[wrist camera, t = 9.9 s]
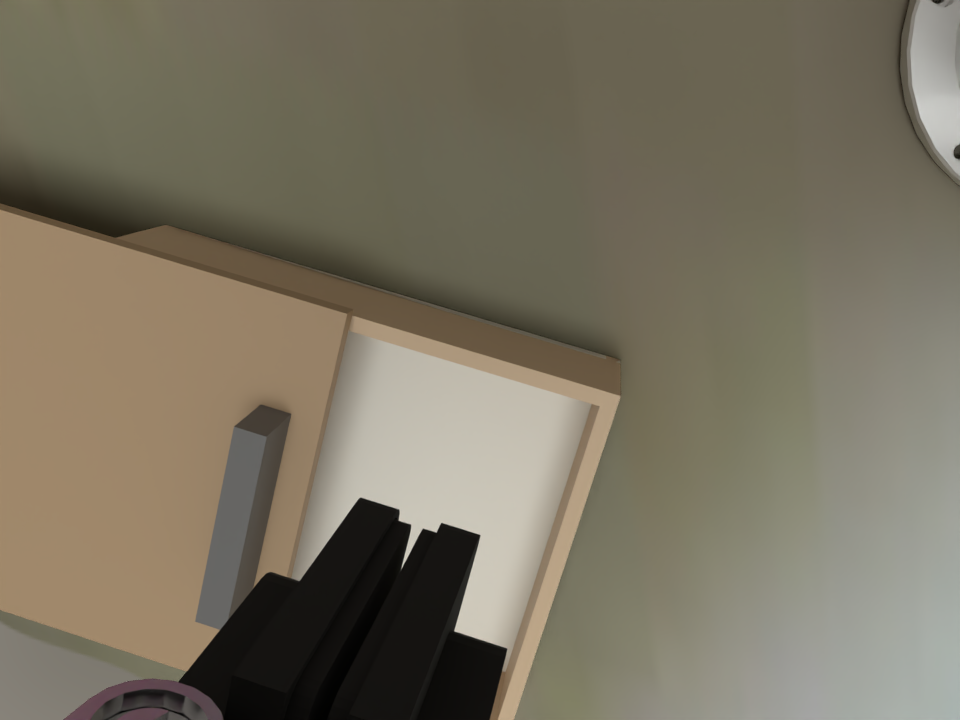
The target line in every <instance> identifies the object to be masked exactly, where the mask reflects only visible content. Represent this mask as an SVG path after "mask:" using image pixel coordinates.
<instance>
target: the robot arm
mask: <svg viewBox="0 0 960 720" xmlns="http://www.w3.org/2000/svg"><path fill="white" fill-rule="evenodd" d="M900 73H901V80H902V86H903V93H904V99H905V105H906V107H907V110H908V113H909V115H910V118H911V121H912V123H913V126H914V129H915V131H916V134H917V136H918V137H919V139H920V140H921V142H922V143H923V145H924V146H925V148H926V150H927V151H928V153H929V154H930V156H931V157H932V159H933V160H934V162H935V163H936V164H937V165H938V166H939V167H940V168H941V169H942V170H943V171H944V172H945V173H946V174H947V175H948V176H949V177H950V178H951V179H952V180H953V181H954V182H955V183H956V184H958V185H959V186H960V158H958V159H956V158H955V157H954V155H953V152H954V148H955V147H956V146H957V145H959V144H960V0H941V2H940V3H938V4H935V3H934V2H932V0H910V1H909V6H908V10H907V14H906V18H905V23H904V27H903V31H902V37H901V59H900ZM399 515H400V510H399V509H396V508H393V507H390V506H386V505H383V504H380V503H377V502H374V501H371V500H367V499H364V498H359V499H358V500H357V502H356V503H355V504H354V506H353V507H352V509H351V510H350V511H349V513H348V514H347V516H346V517H345V518H344V520H343V521H342V523H341V524H340V525H339V527H338V528H337V530H336V531H335V532H334V534H333V535H332V536H331V538H330V539H329V541H328V542H327V543H326V545H325V546H324V548H323V549H322V550H321V552H320V553H319V555H318V556H317V557H316V559H315V560H314V562H313V563H312V564H311V566H310V567H309V569H308V570H307V571H306V573H305V574H304V576H303V577H302V578H301V580H300V581H298V580H295V579H292V578H289V577H285V576H282V575H279V574H276V573H273V572H268V573H266V574H265V575H264V576H263V577H262V578H261V579H260V581H259V582H258V583H257V584H256V586H255V587H254V588H253V589H252V591H251V592H250V593H249V594H248V596H247V597H246V598H245V599H244V601H243V602H242V603H241V604H240V606H239V607H238V608H237V609H236V611H235V612H234V613H233V614H232V616H231V617H230V618H229V619H228V621H227V622H226V623H225V624H224V626H223V627H222V628H221V629H220V631H219V632H218V633H217V634H216V636H215V637H214V638H213V639H212V641H211V642H210V643H209V644H208V646H207V647H206V648H205V649H204V651H203V652H202V653H201V654H200V656H199V657H198V658H197V659H196V661H195V662H194V663H193V664H192V666H191V667H190V668H189V669H188V671H187V672H186V673H185V674H184V676H183V677H182V678H181V679H180V681H179V682H176V681H170V680H160V679H143V680H133V681H128V682H124V683H121V684H118V685H115V686H112V687H109V688H106V689H105V690H103V691H101V692H100V693H98V694H97V695H95V696H93V697H92V698H90V699H89V700H87V701H86V702H85V703H84V704H82V705H81V706H80V707H79V708H77V709H76V710H75V711H74V712H72V713H71V714H70V715H69V716H67V717H66V718H65V719H64V720H490V717H491V713H492V709H493V705H494V701H495V697H496V693H497V689H498V685H499V681H500V677H501V673H502V669H503V666H504V662H505V658H506V653H507V648H504V647H501V646H498V645H495V644H492V643H489V642H486V641H483V640H480V639H477V638H474V637H470V636H467V635H464V634H461V633H458V632H455V631H454V630H455V627H456V623H457V620H458V616H459V612H460V609H461V605H462V602H463V598H464V595H465V591H466V587H467V584H468V580H469V577H470V573H471V570H472V566H473V562H474V559H475V555H476V552H477V548H478V544H479V540H480V535H479V534H476V533H473V532H470V531H466V530H463V529H460V528H457V527H454V526H450V525H447V524H444V523H441V525H440V526H439V528H438V530H437V533H436V532H433V531H430V530H427V529H422V531H421V533H420V534H419V536H418V538H417V540H416V542H415V544H414V546H413V548H412V550H411V552H410V554H409V556H408V558H407V559H406V561H405V563H404V565H403V567H402V564H403V560H404V556H405V552H406V548H407V544H408V540H409V536H410V532H411V524H408V523H404V522H401V521H399ZM401 568H402V569H401Z"/></svg>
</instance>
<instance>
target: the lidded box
mask: <svg viewBox="0 0 960 720" xmlns="http://www.w3.org/2000/svg"><path fill="white" fill-rule="evenodd" d="M116 238H117V239H121V240H124V241H127V242H131V243H134V244H137V245H141V246H144V247H147V248H151V249H154V250H157V251H161V252H164V253H167V254H171V255H174V256H177V257H181V258H184V259H187V260H191V261H194V262H197V263H201V264H204V265H207V266H211V267H214V268H217V269H221V270H224V271H227V272H231V273H234V274H237V275H241V276H244V277H247V278H251V279H254V280H257V281H261V282H264V283H267V284H271V285H274V286H277V287H281V288H284V289H287V290H291V291H294V292H298V293H301V294H304V295H308V296H311V297H314V298H318V299H321V300H324V301H328V302H331V303H334V304H338V305H341V306H344V307H348V308H351V309H353V313H352V318H351V322H350V326H349V331H348V335H347V339H346V344H345V348H344V352H343V357H342V361H341V365H340V370H339V374H338V378H337V382H336V387H335V391H334V395H333V400H332V404H331V408H330V413H329V417H328V421H327V426H326V430H325V434H324V439H323V443H322V447H321V452H320V456H319V460H318V464H317V469H316V473H315V477H314V482H313V486H312V490H311V495H310V499H309V503H308V508H307V512H306V516H305V521H304V525H303V529H302V534H301V538H300V542H299V546H298V551H297V555H296V559H295V564H294V568H293V572H292V577H291V578H292V579H295V580H298V581H300V580H301V578H302V577H303V576H304V574H305V573H306V571H307V570H308V569H309V567H310V566H311V564H312V563H313V562H314V560H315V559H316V557H317V556H318V555H319V553H320V552H321V550H322V549H323V548H324V546H325V545H326V543H327V542H328V541H329V539H330V538H331V536H332V535H333V534H334V532H335V531H336V530H337V528H338V527H339V525H340V524H341V523H342V521H343V520H344V518H345V517H346V516H347V514H348V513H349V511H350V510H351V509H352V507H353V506H354V504H355V503H356V502H357V500H358V499H359V498H364V499H367V500H371V501H374V502H377V503H380V504H383V505H386V506H390V507H393V508H396V509H399V510H400V515H399V521H401V522H404V523H408V524H411V532H410V536H409V540H408V544H407V548H406V552H405V556H404V560H403V564H402V567H403V565H404V563H405V561H406V559H407V558H408V556H409V554H410V552H411V550H412V548H413V546H414V544H415V542H416V540H417V538H418V536H419V534H420V533H421V531H422V529H427V530H430V531H433V532H436V533H437V530H438V528H439V526H440V525H441V523H444V524H447V525H450V526H454V527H457V528H460V529H463V530H466V531H470V532H473V533H476V534H479V535H480V540H479V544H478V548H477V552H476V555H475V559H474V562H473V566H472V570H471V573H470V577H469V580H468V584H467V587H466V591H465V595H464V598H463V602H462V605H461V609H460V612H459V616H458V620H457V623H456V627H455V630H454V631H455V632H458V633H461V634H464V635H467V636H470V637H474V638H477V639H480V640H483V641H486V642H489V643H492V644H495V645H498V646H501V647H504V648H507V653H506V658H505V662H504V666H503V669H502V673H501V677H500V681H499V685H498V689H497V693H496V697H495V701H494V705H493V709H492V713H491V717H490V720H514V717H515V714H516V711H517V708H518V705H519V702H520V699H521V696H522V693H523V690H524V687H525V684H526V681H527V678H528V675H529V672H530V669H531V666H532V663H533V660H534V657H535V654H536V651H537V648H538V645H539V642H540V639H541V636H542V633H543V630H544V627H545V624H546V621H547V618H548V615H549V612H550V608H551V605H552V602H553V599H554V596H555V593H556V590H557V587H558V584H559V581H560V578H561V575H562V572H563V569H564V566H565V563H566V560H567V557H568V554H569V551H570V548H571V545H572V542H573V539H574V536H575V533H576V530H577V527H578V524H579V521H580V518H581V515H582V512H583V509H584V506H585V503H586V500H587V497H588V494H589V491H590V488H591V485H592V482H593V479H594V476H595V473H596V470H597V467H598V464H599V461H600V458H601V455H602V452H603V449H604V446H605V443H606V440H607V437H608V434H609V431H610V428H611V424H612V421H613V418H614V415H615V412H616V409H617V406H618V403H619V400H620V397H621V360H619V359H616V358H613V357H609V356H606V355H603V354H599V353H596V352H592V351H589V350H586V349H582V348H579V347H576V346H572V345H569V344H566V343H562V342H559V341H555V340H552V339H549V338H545V337H542V336H539V335H535V334H532V333H529V332H525V331H522V330H518V329H515V328H512V327H508V326H505V325H502V324H498V323H495V322H492V321H488V320H485V319H481V318H478V317H475V316H471V315H468V314H465V313H461V312H458V311H455V310H451V309H448V308H444V307H441V306H438V305H434V304H431V303H428V302H424V301H421V300H418V299H414V298H411V297H408V296H404V295H401V294H397V293H394V292H391V291H387V290H384V289H381V288H377V287H374V286H371V285H367V284H364V283H360V282H357V281H354V280H350V279H347V278H344V277H340V276H337V275H334V274H330V273H327V272H323V271H320V270H317V269H313V268H310V267H307V266H303V265H300V264H297V263H293V262H290V261H286V260H283V259H280V258H276V257H273V256H270V255H266V254H263V253H260V252H256V251H253V250H249V249H246V248H243V247H239V246H236V245H233V244H229V243H226V242H223V241H219V240H216V239H212V238H209V237H206V236H202V235H199V234H196V233H192V232H189V231H186V230H182V229H179V228H176V227H172V226H169V225H163V226H159V227H155V228H151V229H148V230H144V231H140V232H136V233H132V234H128V235H124V236H120V237H116ZM401 569H402V568H401Z"/></svg>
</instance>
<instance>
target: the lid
mask: <svg viewBox="0 0 960 720" xmlns="http://www.w3.org/2000/svg"><path fill="white" fill-rule="evenodd" d="M352 313H353V309H351V308H348V307H344V306H341V305H338V304H334V303H331V302H328V301H324V300H321V299H318V298H314V297H311V296H308V295H304V294H301V293H298V292H294V291H291V290H287V289H284V288H281V287H277V286H274V285H271V284H267V283H264V282H261V281H257V280H254V279H251V278H247V277H244V276H241V275H237V274H234V273H231V272H227V271H224V270H221V269H217V268H214V267H211V266H207V265H204V264H201V263H197V262H194V261H191V260H187V259H184V258H181V257H177V256H174V255H171V254H167V253H164V252H161V251H157V250H154V249H151V248H147V247H144V246H141V245H137V244H134V243H131V242H127V241H124V240H121V239H117V238H114V237H111V236H107V235H104V234H101V233H97V232H94V231H91V230H87V229H84V228H81V227H77V226H74V225H71V224H67V223H64V222H61V221H57V220H54V219H50V218H47V217H44V216H40V215H37V214H34V213H30V212H27V211H24V210H20V209H17V208H14V207H10V206H7V205H4V204H0V610H2V611H5V612H8V613H11V614H14V615H17V616H20V617H23V618H26V619H29V620H33V621H36V622H39V623H42V624H45V625H48V626H51V627H54V628H57V629H60V630H63V631H66V632H69V633H72V634H75V635H78V636H81V637H84V638H87V639H90V640H93V641H96V642H99V643H102V644H105V645H108V646H111V647H114V648H117V649H120V650H123V651H126V652H129V653H132V654H135V655H138V656H141V657H144V658H147V659H150V660H153V661H156V662H159V663H163V664H166V665H169V666H172V667H175V668H178V669H181V670H184V671H188V669H189V668H190V667H191V666H192V664H193V663H194V662H195V661H196V659H197V658H198V657H199V656H200V654H201V653H202V652H203V651H204V649H205V648H206V647H207V646H208V644H209V643H210V642H211V641H212V639H213V638H214V637H215V636H216V634H217V633H218V632H219V631H220V629H221V628H222V627H223V626H224V624H225V623H226V622H227V621H228V619H229V618H230V617H231V616H232V614H233V613H234V612H235V611H236V609H237V608H238V607H239V606H240V604H241V603H242V602H243V601H244V599H245V598H246V597H247V596H248V594H249V593H250V592H251V591H252V589H253V588H254V587H255V586H256V584H257V583H258V582H259V581H260V579H261V578H262V577H263V576H264V575H265V574H266V573H268V572H273V573H276V574H279V575H282V576H285V577H289V578H291V577H292V572H293V568H294V564H295V559H296V555H297V551H298V546H299V542H300V538H301V534H302V529H303V525H304V521H305V516H306V512H307V508H308V503H309V499H310V495H311V490H312V486H313V482H314V477H315V473H316V469H317V464H318V460H319V456H320V452H321V447H322V443H323V439H324V434H325V430H326V426H327V421H328V417H329V413H330V408H331V404H332V400H333V395H334V391H335V387H336V382H337V378H338V374H339V370H340V365H341V361H342V357H343V352H344V348H345V344H346V339H347V335H348V331H349V326H350V322H351V318H352Z"/></svg>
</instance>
